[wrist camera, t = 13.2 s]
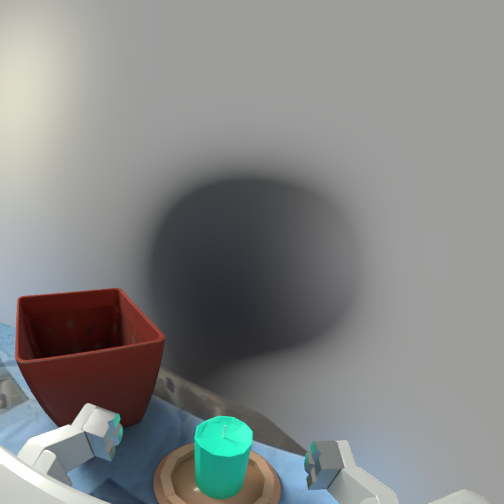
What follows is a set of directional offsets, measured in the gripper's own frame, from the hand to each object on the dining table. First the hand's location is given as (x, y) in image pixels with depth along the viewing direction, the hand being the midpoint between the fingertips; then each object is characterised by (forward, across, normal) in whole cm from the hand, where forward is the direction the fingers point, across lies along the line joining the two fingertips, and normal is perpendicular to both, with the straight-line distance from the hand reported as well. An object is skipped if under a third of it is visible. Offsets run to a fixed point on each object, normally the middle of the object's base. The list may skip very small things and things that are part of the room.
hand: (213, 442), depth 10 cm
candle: (+12, -1, +24) cm, 27 cm away
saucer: (+11, -1, +25) cm, 27 cm away
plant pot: (+22, +20, +26) cm, 39 cm away
